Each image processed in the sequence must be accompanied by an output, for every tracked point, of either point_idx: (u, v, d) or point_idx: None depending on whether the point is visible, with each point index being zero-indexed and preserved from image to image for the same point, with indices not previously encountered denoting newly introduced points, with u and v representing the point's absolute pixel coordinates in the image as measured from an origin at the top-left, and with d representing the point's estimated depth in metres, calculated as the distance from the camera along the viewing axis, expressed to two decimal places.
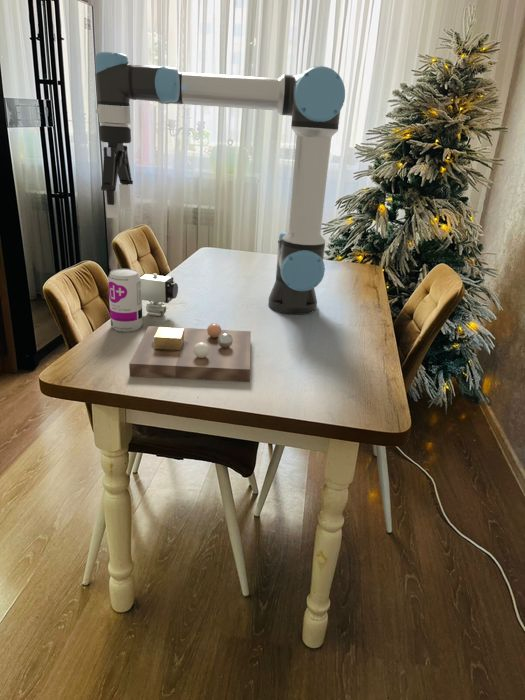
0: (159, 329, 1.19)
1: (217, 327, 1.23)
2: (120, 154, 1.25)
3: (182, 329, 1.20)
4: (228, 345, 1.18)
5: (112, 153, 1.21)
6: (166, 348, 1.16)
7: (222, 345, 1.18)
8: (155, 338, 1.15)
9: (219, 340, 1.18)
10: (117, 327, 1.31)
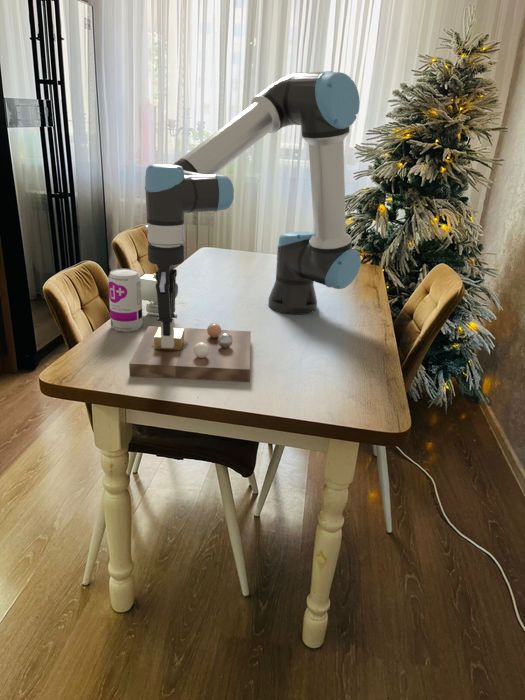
0: (159, 329, 1.19)
1: (217, 327, 1.23)
2: (172, 279, 1.07)
3: (182, 329, 1.20)
4: (228, 345, 1.18)
5: (166, 291, 1.04)
6: (166, 348, 1.16)
7: (222, 345, 1.18)
8: (155, 338, 1.15)
9: (219, 340, 1.18)
10: (117, 327, 1.31)
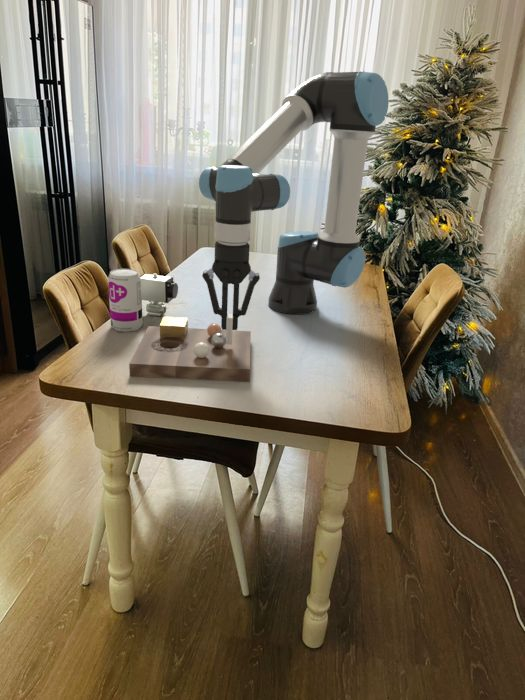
0: (164, 318, 1.26)
1: (217, 327, 1.23)
2: None
3: (186, 318, 1.27)
4: (222, 342, 1.18)
5: None
6: (171, 336, 1.23)
7: (218, 346, 1.18)
8: (160, 326, 1.22)
9: (213, 344, 1.18)
10: (117, 327, 1.31)
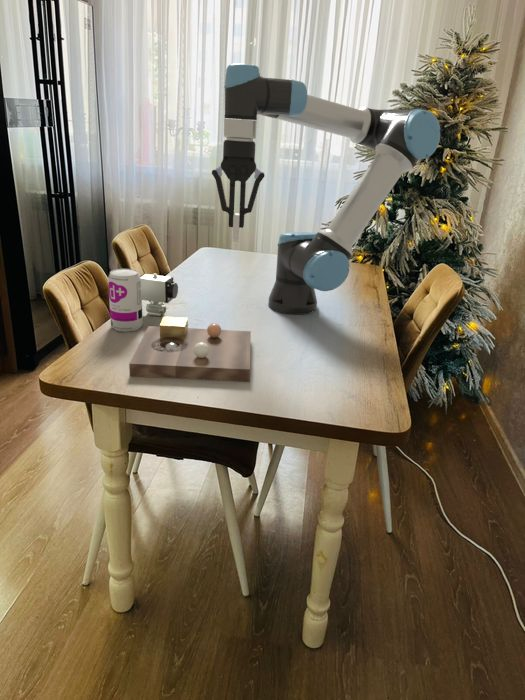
0: (164, 318, 1.26)
1: (217, 327, 1.23)
2: (230, 171, 1.20)
3: (186, 318, 1.27)
4: None
5: None
6: (171, 336, 1.23)
7: None
8: (160, 326, 1.22)
9: None
10: (117, 327, 1.31)
